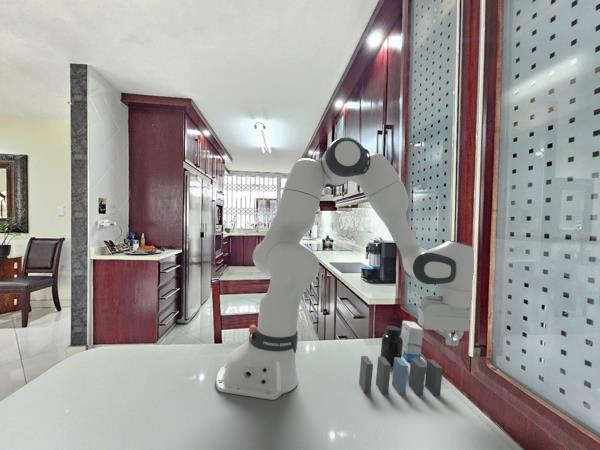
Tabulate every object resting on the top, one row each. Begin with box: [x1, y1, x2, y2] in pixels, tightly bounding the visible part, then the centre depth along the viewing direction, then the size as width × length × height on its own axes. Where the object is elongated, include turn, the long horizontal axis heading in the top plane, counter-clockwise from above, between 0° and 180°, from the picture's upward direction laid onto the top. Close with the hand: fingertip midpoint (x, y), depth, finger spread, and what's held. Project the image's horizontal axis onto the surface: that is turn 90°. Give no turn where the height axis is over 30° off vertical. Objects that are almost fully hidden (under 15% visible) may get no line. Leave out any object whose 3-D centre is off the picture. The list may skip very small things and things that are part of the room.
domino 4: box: [408, 358, 427, 397], centre depth 83 cm, size 2×5×8 cm, turn 5°
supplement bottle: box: [379, 325, 403, 368], centre depth 99 cm, size 7×7×12 cm
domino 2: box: [375, 356, 392, 395], centre depth 83 cm, size 2×5×8 cm, turn 4°
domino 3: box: [391, 357, 409, 395], centre depth 83 cm, size 2×5×8 cm, turn 5°
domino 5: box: [424, 358, 443, 397], centre depth 84 cm, size 2×5×8 cm, turn 5°
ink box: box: [400, 320, 424, 362], centre depth 106 cm, size 9×5×12 cm, turn 179°
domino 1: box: [358, 355, 374, 394], centre depth 82 cm, size 2×5×8 cm, turn 5°
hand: (451, 344), depth 84 cm, fingers closed
